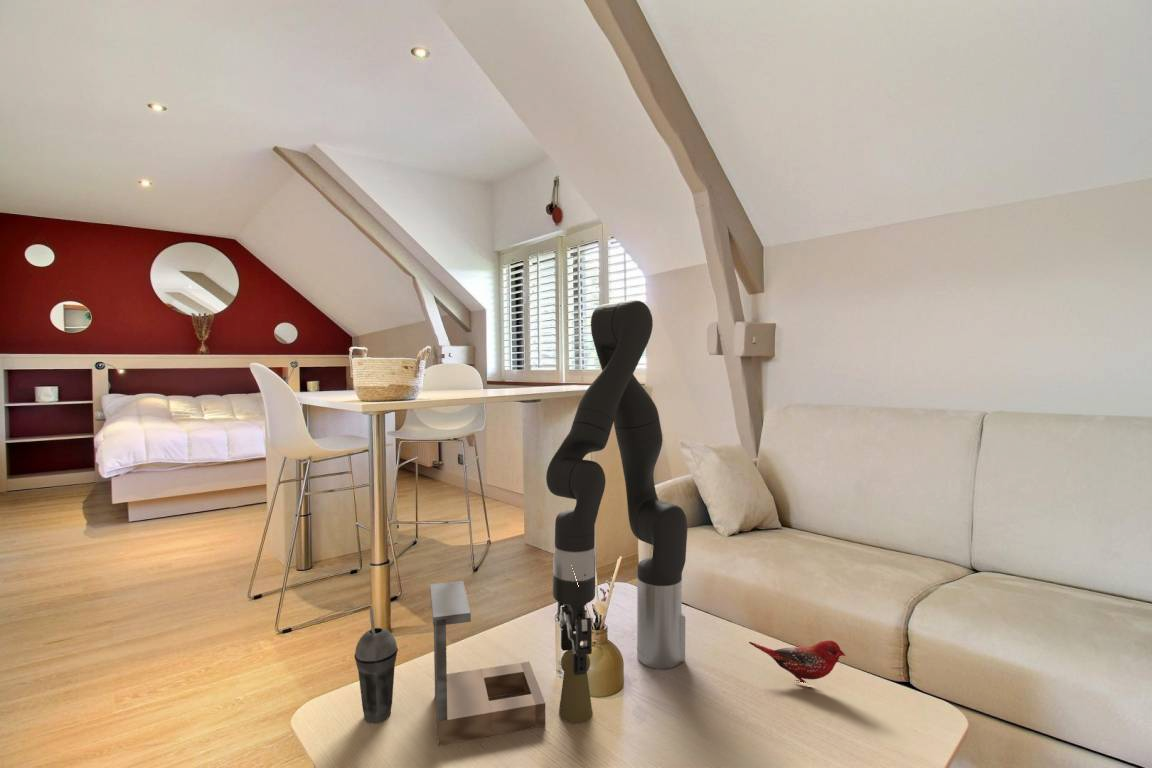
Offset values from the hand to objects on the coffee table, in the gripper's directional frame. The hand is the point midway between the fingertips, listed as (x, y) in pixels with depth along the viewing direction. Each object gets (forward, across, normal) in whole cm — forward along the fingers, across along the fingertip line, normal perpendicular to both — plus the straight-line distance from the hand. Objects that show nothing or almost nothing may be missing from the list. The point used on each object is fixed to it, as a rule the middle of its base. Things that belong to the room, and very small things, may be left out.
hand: (573, 661), depth 103 cm
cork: (+10, 0, -1) cm, 10 cm away
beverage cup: (+10, +9, +33) cm, 36 cm away
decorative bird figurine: (+9, -3, -44) cm, 45 cm away
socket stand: (+10, +5, +14) cm, 18 cm away
